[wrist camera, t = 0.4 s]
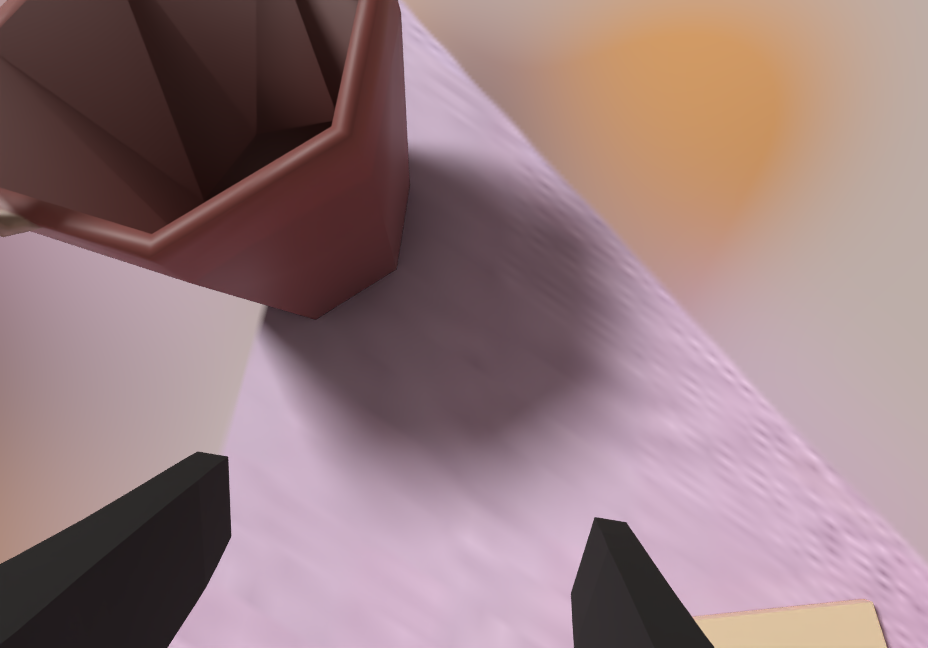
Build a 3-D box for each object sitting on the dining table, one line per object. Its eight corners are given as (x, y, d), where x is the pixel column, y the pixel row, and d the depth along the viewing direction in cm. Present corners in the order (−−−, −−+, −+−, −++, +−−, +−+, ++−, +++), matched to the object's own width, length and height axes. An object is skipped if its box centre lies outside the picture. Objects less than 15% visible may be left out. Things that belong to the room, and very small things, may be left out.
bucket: (232, 410, 39) (-221, 302, 15) (133, 199, 46) (-287, -102, 22) (502, 239, 41) (470, -98, 17) (369, 59, 47) (212, -364, 24)
